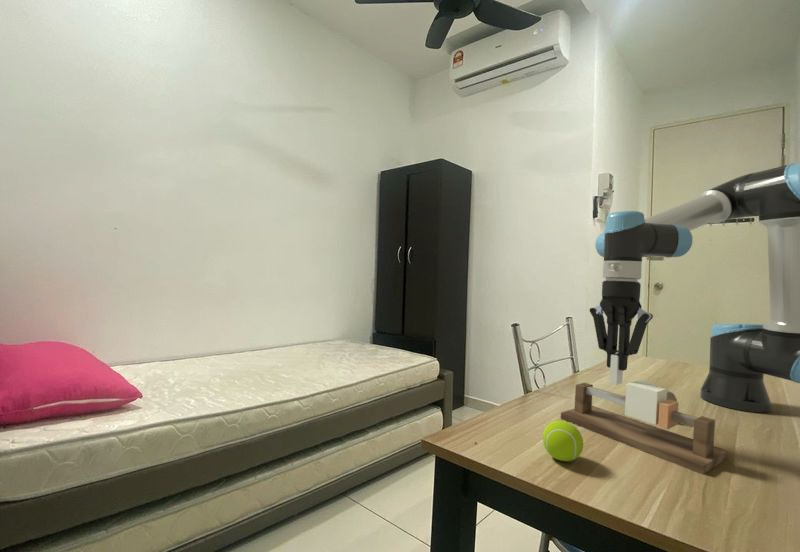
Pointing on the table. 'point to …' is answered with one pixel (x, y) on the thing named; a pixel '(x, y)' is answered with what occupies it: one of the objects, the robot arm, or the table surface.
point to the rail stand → (648, 431)
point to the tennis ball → (563, 440)
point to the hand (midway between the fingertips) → (615, 383)
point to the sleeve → (644, 401)
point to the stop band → (667, 414)
